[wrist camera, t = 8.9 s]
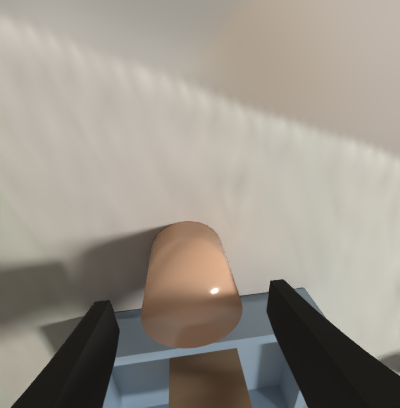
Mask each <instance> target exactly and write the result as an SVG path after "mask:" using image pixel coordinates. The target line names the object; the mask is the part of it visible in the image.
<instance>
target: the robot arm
mask: <svg viewBox="0 0 400 408" xmlns="http://www.w3.org/2000/svg"><path fill="white" fill-rule="evenodd" d="M266 312H267V315H268V318H269V321H270V324H271V327H272V329H273V332H274V335H275V337H276V339H277V342H278V344H279V346H280V348H281V350H282V353H283V355H284V357H285V359H286V361H287V363H288V365H289V368H290V370H291V372H292V374H293V376H294V378H295V380H296V383H297V385H298V387H299V389H300V391H301V393H302V396H303V398H304V400H305V403H306V405H307V407H308V408H400V376H399V375H398V374H396V373H395V372H393V371H392V370H391V369H389V368H388V367H386V366H385V365H384V364H382V363H381V362H380V361H378V360H377V359H376V358H374V357H373V356H371V355H370V354H369V353H368V352H366V351H365V350H364V349H362V348H361V347H360V346H359V345H357V344H356V343H355V342H354V341H352V340H351V339H350V338H349V337H347V336H346V335H345V334H344V333H342V332H341V331H340V330H339V329H338V328H337V327H335V326H334V325H333V324H332V323H331V322H330V321H328V320H327V319H326V318H325V317H324V316H323V315H322V314H320V313H319V312H318V311H317V310H316V309H315V308H314V307H313V306H311V305H310V304H309V303H308V302H307V301H306V300H305V299H304V298H303V297H302V296H301V295H300V294H298V293H297V292H296V291H295V290H294V289H293V288H292V287H291V286H290V285H289V284H288V283H287V282H286V281H285V280H283V279H281V280H273V281H270V287H269V295H268V302H267V309H266ZM119 334H120V329H119V326H118V323H117V320H116V317H115V314H114V311H113V308H112V305H111V302H110V300H107V301H98V302H95V303H94V304H93V305H92V307H91V308H90V309H89V311H88V312H87V313H86V315H85V316H84V318H83V319H82V320H81V322H80V323H79V324H78V326H77V327H76V328H75V330H74V331H73V332H72V334H71V335H70V336H69V338H68V339H67V340H66V341H65V343H64V344H63V345H62V347H61V348H60V349H59V350H58V352H57V353H56V354H55V356H54V357H53V358H52V359H51V361H50V362H49V363H48V364H47V365H46V367H45V368H44V369H43V370H42V371H41V373H40V374H39V375H38V376H37V377H36V379H35V380H34V381H33V382H32V383H31V385H30V386H29V387H28V388H27V389H26V391H25V392H24V393H23V394H22V395H21V396H20V398H19V399H18V400H17V401H16V402H15V403H14V404H13V406H12V407H11V408H103V404H104V401H105V397H106V393H107V389H108V385H109V382H110V378H111V374H112V370H113V366H114V362H115V358H116V353H117V347H118V340H119Z"/></svg>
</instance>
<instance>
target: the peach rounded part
mask: <svg viewBox="0 0 400 408" xmlns="http://www.w3.org/2000/svg"><path fill="white" fill-rule="evenodd" d="M242 311H243V306H242V302H241V299H240V296H239V293H238V290H237V287H236V284H235V281H234V278H233V275H232V273H231V270H230V267H229V264H228V261H227V258H226V255H225V252H224V249H223V246H222V244H221V241H220V238H219V236H218V235H217V233H216V232H215V231H214V230H213V229H212V228H210V227H209V226H207V225H205V224H202V223H199V222H193V221H184V222H178V223H175V224H172V225H170V226H168V227H166V228H165V229H163V230H162V231H161V232H160V233H159V234H158V235H157V236H156V238H155V239H154V241H153V244H152V248H151V254H150V261H149V267H148V273H147V280H146V286H145V293H144V299H143V305H142V312H141V324H142V327H143V329H144V331H145V332H146V334H147V335H148V336H149V337H150V338H151V339H153V340H154V341H156V342H158V343H160V344H162V345H165V346H168V347H173V348H183V349H186V348H197V347H202V346H206V345H209V344H212V343H214V342H217V341H219V340H220V339H222V338H224V337H225V336H227V335H228V334H229V333H230V332H232V331H233V330H234V328H235V327H236V326H237V325H238V323H239V321H240V319H241V316H242Z"/></svg>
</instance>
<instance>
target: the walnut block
mask: <svg viewBox="0 0 400 408" xmlns="http://www.w3.org/2000/svg"><path fill="white" fill-rule="evenodd" d="M169 408H252V404H251V400H250V397H249V393H248V389H247V385H246V381H245V377H244V374H243V370H242V366H241V362H240V358H239V354H238V351H237V348H233V349H226V350H219V351H213V352H206V353H199V354H193V355H186V356H179V357H173V358H169Z"/></svg>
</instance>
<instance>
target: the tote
mask: <svg viewBox="0 0 400 408" xmlns="http://www.w3.org/2000/svg"><path fill="white" fill-rule="evenodd" d="M294 290H295V291H296V292H297V293H298V294H300V295H301V296H302V297H303V298H304V299H305V300H306V301H307V302H308V303H309V304H310V305H311V306H313V307H314V308H315V309H316V310H317V311H318V312H319V313H320V314H322V315H323V313H322V312H321V310H320V309H319V308H318V306H317V305H316V304H315V302H314V301H313V299H312V298H311V297H310V295H309V294H308V292H307V291H306V290H305V288H300V289H294ZM268 295H269V293H262V294H254V295H246V296H240V299H241V302H242V306H243V311H242V316H241V319H240V321H239V323H238V325H237V326H236V327H235V328H234V330H233V331H232V332H230V333H229V334H228V335H227V336H225V337H224V338H222V339H220V340H219V341H217V342H214V343H212V344H209V345H206V346H202V347H197V348H186V349H183V348H173V347H168V346H165V345H162V344H160V343H158V342H156V341H154V340H153V339H151V338H150V337H149V336H148V335H147V334H146V332H145V331H144V329H143V327H142V324H141V312H142V309H138V310H131V311H123V312H115V313H114V314H115V317H116V320H117V323H118V326H119V329H120V334H119V340H118V347H117V353H116V358H115V362H114V366H113V370H112V374H111V378H110V382H109V385H108V389H107V393H106V397H105V401H104V404H103V408H169V358H173V357H179V356H186V355H193V354H199V353H206V352H213V351H219V350H226V349H233V348H237V351H238V354H239V358H240V362H241V366H242V370H243V374H244V377H245V381H246V385H247V389H248V393H249V397H250V400H251V404H252V408H303V406H304V403H305V400H304V398H303V396H302V393H301V391H300V389H299V387H298V385H297V383H296V380H295V378H294V376H293V374H292V372H291V370H290V368H289V365H288V363H287V361H286V359H285V357H284V355H283V353H282V350H281V348H280V346H279V344H278V342H277V339H276V337H275V335H274V332H273V329H272V327H271V324H270V321H269V318H268V315H267V312H266V309H267V302H268ZM323 316H324V315H323ZM324 317H325V316H324ZM83 318H84V317H83ZM83 318H82V319H83ZM325 318H326V317H325Z"/></svg>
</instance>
